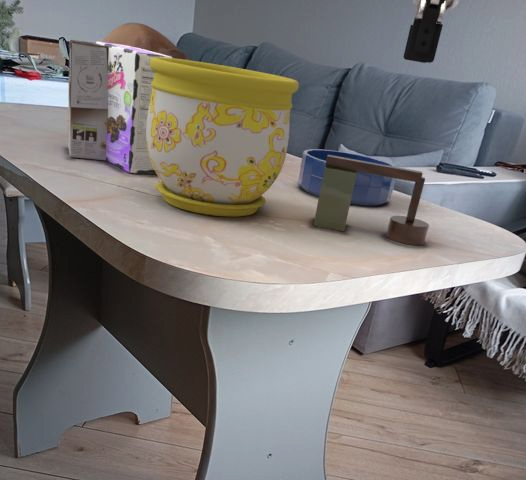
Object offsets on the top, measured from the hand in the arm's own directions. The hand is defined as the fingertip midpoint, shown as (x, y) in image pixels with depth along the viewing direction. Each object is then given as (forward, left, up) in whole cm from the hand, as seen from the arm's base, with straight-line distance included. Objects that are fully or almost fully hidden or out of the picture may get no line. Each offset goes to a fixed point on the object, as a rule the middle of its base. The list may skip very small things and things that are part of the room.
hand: (417, 60), depth 75 cm
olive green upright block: (+6, +4, -21) cm, 22 cm away
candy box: (+39, -10, -21) cm, 46 cm away
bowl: (+5, -18, -21) cm, 28 cm away
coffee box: (+46, -12, -21) cm, 52 cm away
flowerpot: (+22, +5, -21) cm, 31 cm away
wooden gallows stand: (+1, +4, -21) cm, 21 cm away
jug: (+41, -32, -21) cm, 56 cm away
